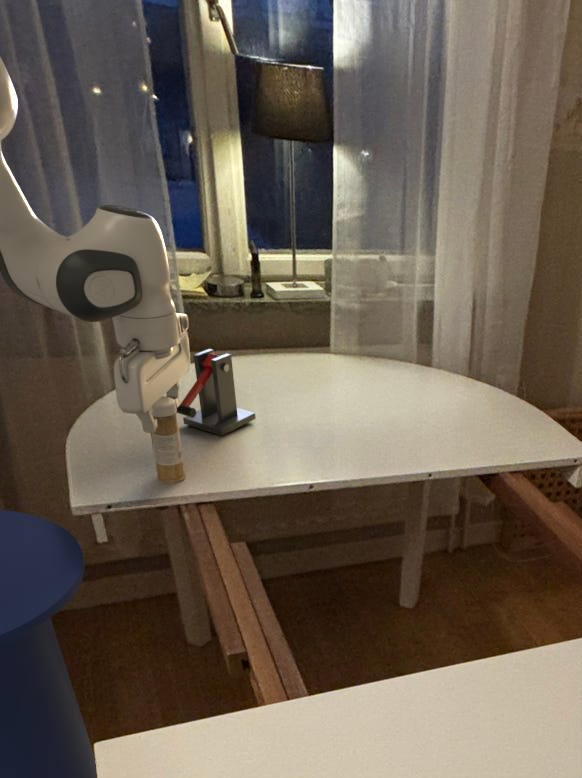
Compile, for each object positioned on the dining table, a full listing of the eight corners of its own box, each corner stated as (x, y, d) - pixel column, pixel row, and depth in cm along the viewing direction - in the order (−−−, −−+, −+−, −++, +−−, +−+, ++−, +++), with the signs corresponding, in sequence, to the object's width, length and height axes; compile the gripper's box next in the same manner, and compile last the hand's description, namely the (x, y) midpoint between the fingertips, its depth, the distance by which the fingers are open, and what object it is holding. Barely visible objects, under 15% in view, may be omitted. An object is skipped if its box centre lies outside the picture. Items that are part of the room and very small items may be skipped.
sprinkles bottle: (166, 471, 130) (153, 393, 122) (191, 476, 130) (180, 397, 122) (151, 482, 127) (138, 402, 119) (177, 486, 126) (165, 407, 118)
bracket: (222, 435, 143) (213, 367, 135) (183, 423, 145) (173, 356, 138) (255, 418, 150) (249, 353, 142) (218, 407, 153) (210, 342, 145)
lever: (193, 420, 138) (187, 412, 136) (171, 414, 139) (165, 405, 137) (231, 366, 142) (225, 357, 140) (209, 360, 143) (203, 350, 141)
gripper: (140, 355, 105) (157, 448, 114) (191, 312, 121) (203, 397, 130) (94, 350, 105) (115, 444, 114) (152, 308, 121) (166, 393, 130)
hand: (162, 419), depth 122 cm, fingers open, 8 cm apart
